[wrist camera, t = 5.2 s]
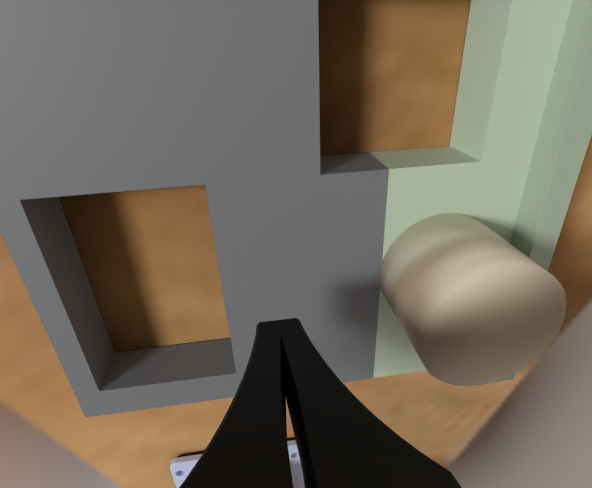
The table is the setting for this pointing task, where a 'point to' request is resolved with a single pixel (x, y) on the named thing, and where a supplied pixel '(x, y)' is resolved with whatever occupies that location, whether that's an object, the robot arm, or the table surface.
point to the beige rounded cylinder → (470, 299)
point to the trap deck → (267, 170)
